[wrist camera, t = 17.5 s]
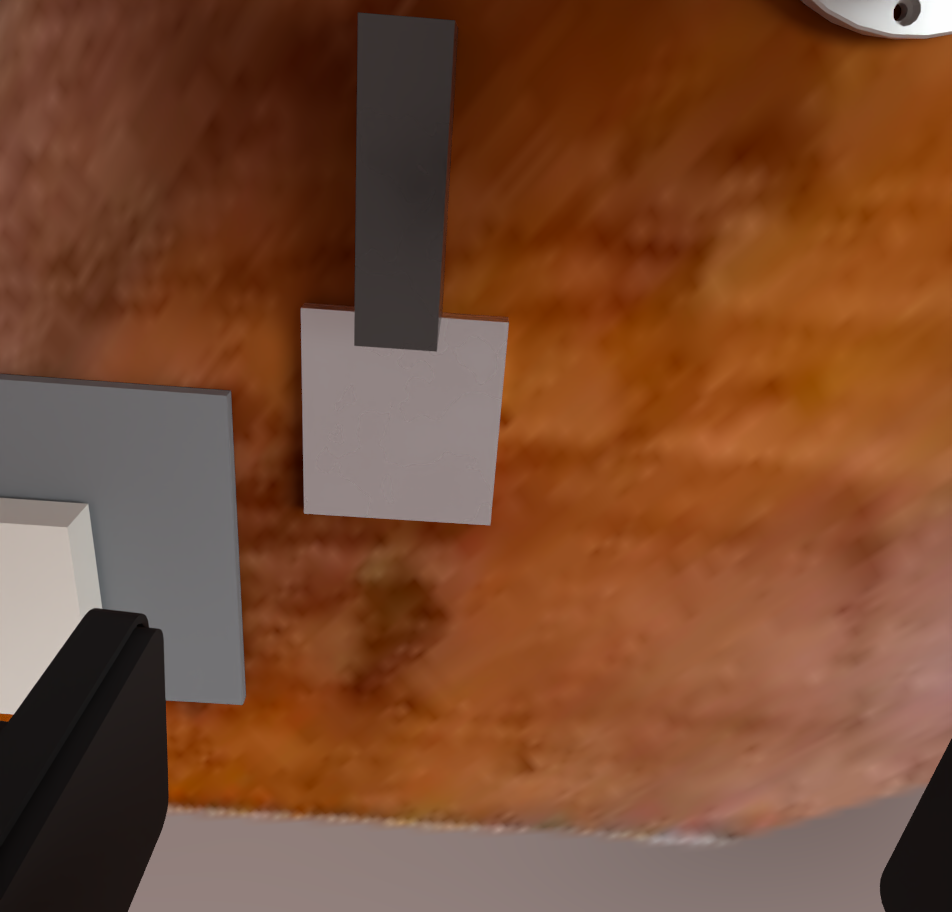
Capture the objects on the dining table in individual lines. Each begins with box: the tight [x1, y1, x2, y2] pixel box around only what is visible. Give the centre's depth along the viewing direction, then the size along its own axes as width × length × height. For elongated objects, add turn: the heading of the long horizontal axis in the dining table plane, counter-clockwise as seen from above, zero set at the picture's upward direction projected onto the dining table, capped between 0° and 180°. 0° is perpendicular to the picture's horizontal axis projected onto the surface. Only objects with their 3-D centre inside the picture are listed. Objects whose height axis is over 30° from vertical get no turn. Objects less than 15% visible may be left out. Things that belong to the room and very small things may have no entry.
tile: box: [0, 498, 102, 714], centre depth 37 cm, size 2×8×10 cm
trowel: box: [301, 13, 509, 525], centre depth 30 cm, size 19×8×5 cm, turn 176°
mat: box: [0, 374, 246, 705], centre depth 37 cm, size 16×18×1 cm
